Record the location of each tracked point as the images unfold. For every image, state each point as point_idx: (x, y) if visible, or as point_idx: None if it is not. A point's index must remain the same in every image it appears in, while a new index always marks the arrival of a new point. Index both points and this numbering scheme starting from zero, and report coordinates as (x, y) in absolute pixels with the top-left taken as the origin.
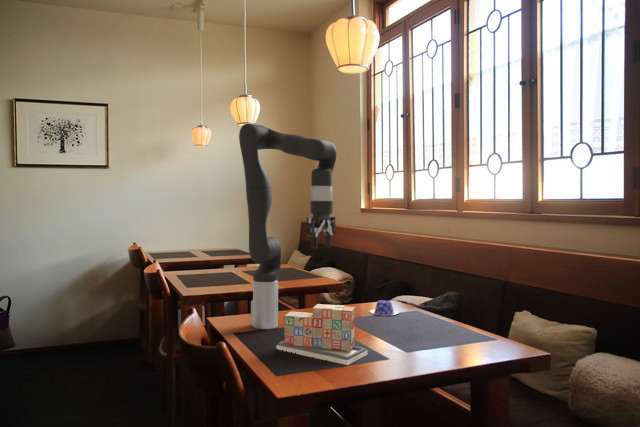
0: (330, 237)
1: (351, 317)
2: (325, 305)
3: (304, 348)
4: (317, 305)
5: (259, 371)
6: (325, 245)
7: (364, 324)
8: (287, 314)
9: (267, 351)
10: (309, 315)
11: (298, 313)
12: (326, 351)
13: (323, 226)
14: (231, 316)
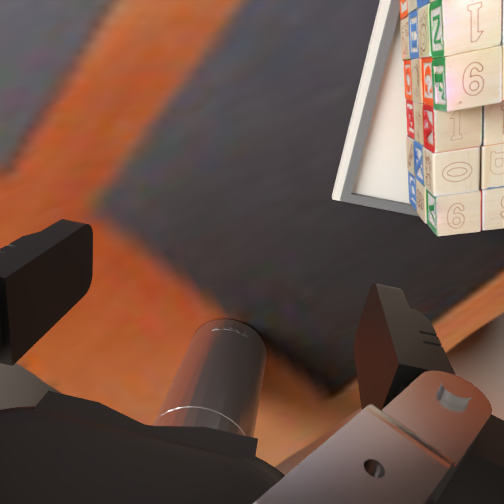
0: (12, 268)
1: None
2: (468, 52)
3: None
4: (485, 94)
5: None
6: (86, 286)
7: (23, 57)
8: (498, 223)
9: (483, 235)
10: (492, 122)
11: (466, 187)
12: None
13: (152, 485)
14: None
